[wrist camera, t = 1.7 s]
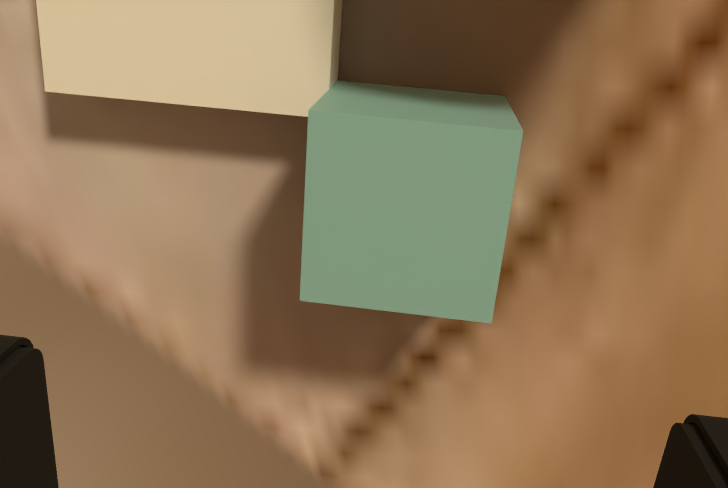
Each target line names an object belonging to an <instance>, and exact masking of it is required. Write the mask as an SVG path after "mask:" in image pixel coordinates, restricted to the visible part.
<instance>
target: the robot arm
mask: <svg viewBox="0 0 728 488" xmlns="http://www.w3.org/2000/svg"><path fill="white" fill-rule="evenodd" d="M0 488H58V479H57V471H56V462H55V454H54V446H53V437H52V429H51V420H50V411H49V403H48V395H47V387H46V378H45V369H44V361H43V356H42V353H41V351H40V350H38V349H34V348H33V344H32V343H31V341H30V340H29V339H27V338H23V337H15V336H6V335H0ZM653 488H728V418H721V417H712V416H703V415H695V414H692V415H689V416H688V417H687V418H686V419H685V421H684V423H675V424H674V425H673V426H672V428H671V430H670V433H669V437H668V440H667V443H666V447H665V450H664V454H663V457H662V460H661V464H660V467H659V471H658V474H657V477H656V481H655V484H654V487H653Z"/></svg>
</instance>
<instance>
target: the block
mask: <svg viewBox="0 0 728 488" xmlns="http://www.w3.org/2000/svg"><path fill="white" fill-rule="evenodd" d="M522 136H523V130H522V128H521V126H520V124H519V122H518V120H517V118H516V116H515V114H514V112H513V110H512V108H511V106H510V104H509V102H508V101H507V99H506V97H505V96H500V95H490V94H479V93H468V92H458V91H447V90H437V89H426V88H415V87H405V86H394V85H383V84H373V83H362V82H352V81H341V80H338V81H337V82H336V83H335V84H334V85H333V86H332V87H331V88H330V89H329V90H328V91H327V92H326V93H325V94H324V95H323V96H322V97H321V98H320V99H319V100H318V101H317V102H316V103H315V104H314V105H313V106H312V107H311V108H310V109H309V110H308V128H307V150H306V172H305V194H304V216H303V238H302V259H301V281H300V301H306V302H314V303H323V304H331V305H340V306H348V307H356V308H365V309H373V310H382V311H390V312H399V313H407V314H416V315H424V316H433V317H441V318H450V319H458V320H467V321H475V322H484V323H492V318H493V312H494V305H495V299H496V293H497V287H498V281H499V275H500V269H501V263H502V257H503V251H504V245H505V239H506V233H507V227H508V221H509V215H510V209H511V203H512V197H513V191H514V185H515V179H516V173H517V167H518V161H519V155H520V148H521V142H522Z"/></svg>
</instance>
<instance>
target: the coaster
mask: <svg viewBox="0 0 728 488" xmlns="http://www.w3.org/2000/svg"><path fill="white" fill-rule="evenodd" d="M36 5H37V15H38V25H39V35H40V45H41V55H42V65H43V75H44V85H45V92H55V93H66V94H76V95H86V96H97V97H107V98H118V99H128V100H138V101H149V102H159V103H169V104H180V105H190V106H201V107H211V108H221V109H232V110H242V111H253V112H263V113H273V114H284V115H294V116H304V117H308V110H309V109H310V108H311V107H312V106H313V105H314V104H315V103H316V102H317V101H318V100H319V99H320V98H321V97H322V96H323V95H324V94H325V93H326V92H327V91H328V90H329V89H330V88H331V87H332V86H333V85H334V84H335V83H336V82H337V81H338V67H339V50H340V33H341V16H342V0H36Z"/></svg>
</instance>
